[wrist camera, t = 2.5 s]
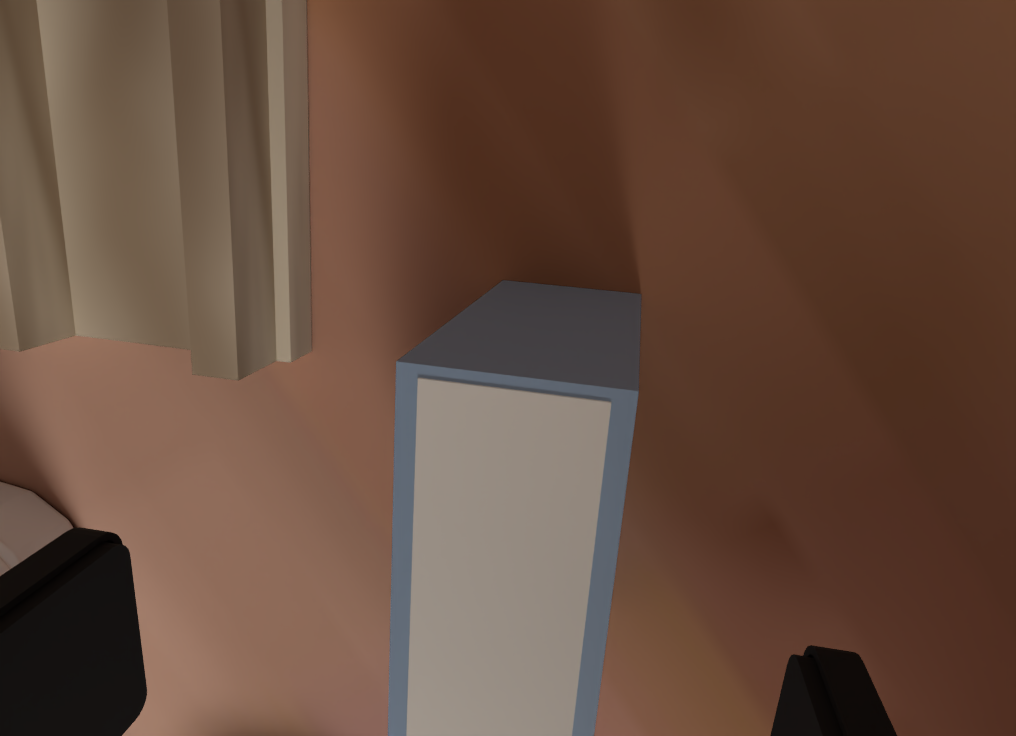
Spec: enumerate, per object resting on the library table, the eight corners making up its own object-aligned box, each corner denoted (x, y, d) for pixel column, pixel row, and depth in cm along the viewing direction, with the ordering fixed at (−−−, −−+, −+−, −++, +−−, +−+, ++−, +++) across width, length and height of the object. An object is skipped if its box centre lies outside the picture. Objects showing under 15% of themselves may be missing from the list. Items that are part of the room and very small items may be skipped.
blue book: (641, 293, 17) (638, 392, 9) (602, 604, 20) (574, 879, 12) (503, 279, 18) (394, 362, 10) (483, 583, 20) (385, 833, 13)
